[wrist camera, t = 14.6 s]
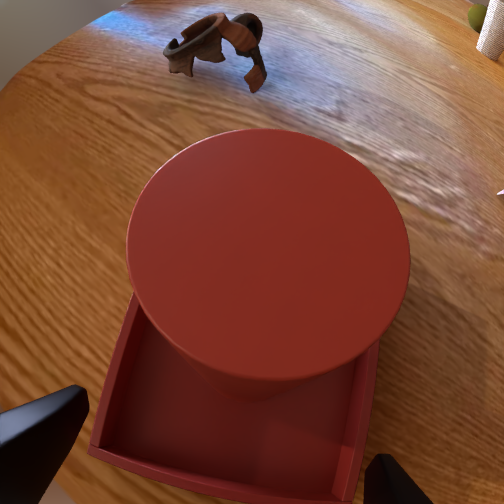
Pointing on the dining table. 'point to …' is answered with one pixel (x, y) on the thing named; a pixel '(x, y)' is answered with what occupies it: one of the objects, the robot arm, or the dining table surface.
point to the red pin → (267, 259)
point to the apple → (477, 16)
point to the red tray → (231, 426)
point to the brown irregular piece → (219, 45)
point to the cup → (492, 31)
